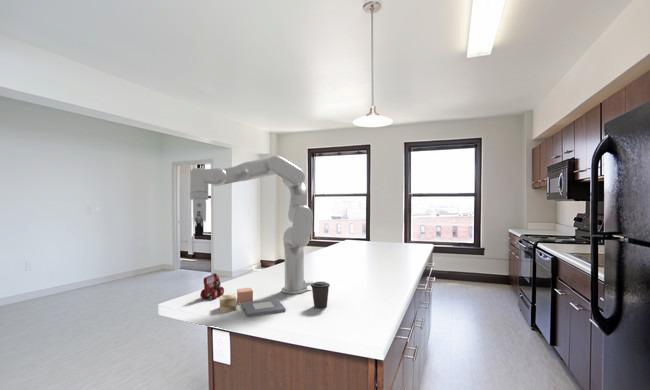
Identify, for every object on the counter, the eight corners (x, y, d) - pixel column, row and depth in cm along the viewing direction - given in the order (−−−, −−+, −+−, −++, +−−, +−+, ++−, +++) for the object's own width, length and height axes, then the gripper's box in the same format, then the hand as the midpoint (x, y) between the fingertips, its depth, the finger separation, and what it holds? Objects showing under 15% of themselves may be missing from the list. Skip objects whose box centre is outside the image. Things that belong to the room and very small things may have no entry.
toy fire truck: (226, 293, 153) (226, 271, 154) (211, 301, 141) (211, 277, 141) (213, 292, 155) (213, 271, 155) (198, 300, 143) (198, 277, 143)
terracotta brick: (250, 298, 145) (250, 287, 145) (252, 302, 139) (252, 290, 139) (237, 300, 142) (237, 289, 143) (238, 304, 137) (238, 292, 137)
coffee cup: (316, 311, 126) (315, 285, 127) (307, 305, 134) (307, 281, 134) (333, 307, 130) (333, 283, 130) (324, 302, 137) (324, 279, 138)
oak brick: (234, 306, 134) (234, 294, 134) (236, 310, 129) (236, 298, 129) (219, 307, 132) (219, 295, 132) (220, 312, 126) (220, 299, 127)
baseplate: (276, 301, 140) (276, 298, 140) (285, 311, 126) (285, 308, 126) (242, 305, 134) (242, 302, 134) (247, 316, 121) (247, 313, 121)
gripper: (208, 195, 133) (208, 236, 133) (207, 196, 150) (207, 233, 149) (189, 195, 131) (189, 237, 130) (190, 196, 147) (190, 233, 146)
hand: (199, 234), depth 140 cm, fingers open, 9 cm apart
